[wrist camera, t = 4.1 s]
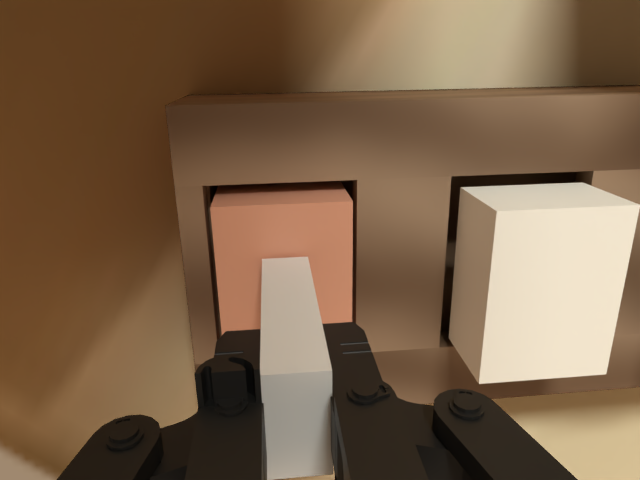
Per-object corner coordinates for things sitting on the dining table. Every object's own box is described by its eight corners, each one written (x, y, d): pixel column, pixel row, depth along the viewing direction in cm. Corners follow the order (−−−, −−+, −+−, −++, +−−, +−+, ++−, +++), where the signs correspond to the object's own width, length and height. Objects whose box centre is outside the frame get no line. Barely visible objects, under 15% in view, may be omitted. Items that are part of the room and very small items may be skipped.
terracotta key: (218, 184, 19) (210, 207, 16) (340, 180, 19) (352, 201, 16) (230, 329, 21) (225, 372, 18) (340, 322, 21) (352, 363, 18)
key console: (188, 95, 21) (165, 105, 16) (735, 82, 23) (857, 89, 18) (213, 352, 25) (201, 421, 20) (676, 321, 27) (763, 377, 22)
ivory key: (460, 187, 18) (497, 211, 15) (582, 182, 18) (640, 204, 15) (448, 338, 20) (478, 384, 17) (558, 330, 20) (606, 374, 17)
